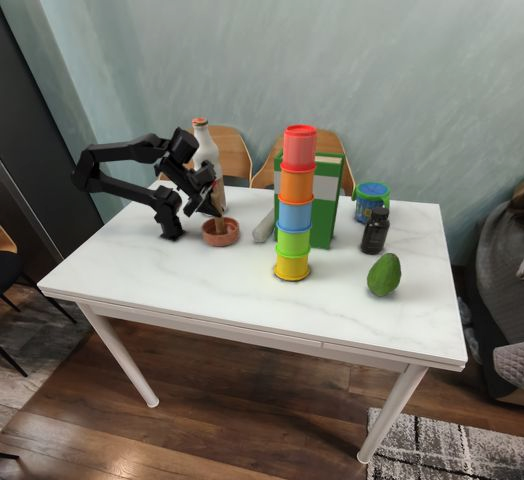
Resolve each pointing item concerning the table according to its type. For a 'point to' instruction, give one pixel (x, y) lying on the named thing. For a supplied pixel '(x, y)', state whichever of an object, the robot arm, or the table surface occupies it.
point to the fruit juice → (208, 155)
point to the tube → (264, 227)
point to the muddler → (219, 221)
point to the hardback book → (317, 196)
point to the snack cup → (370, 199)
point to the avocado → (384, 275)
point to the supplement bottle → (375, 231)
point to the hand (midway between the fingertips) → (222, 214)
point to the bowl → (220, 240)
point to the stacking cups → (295, 202)
